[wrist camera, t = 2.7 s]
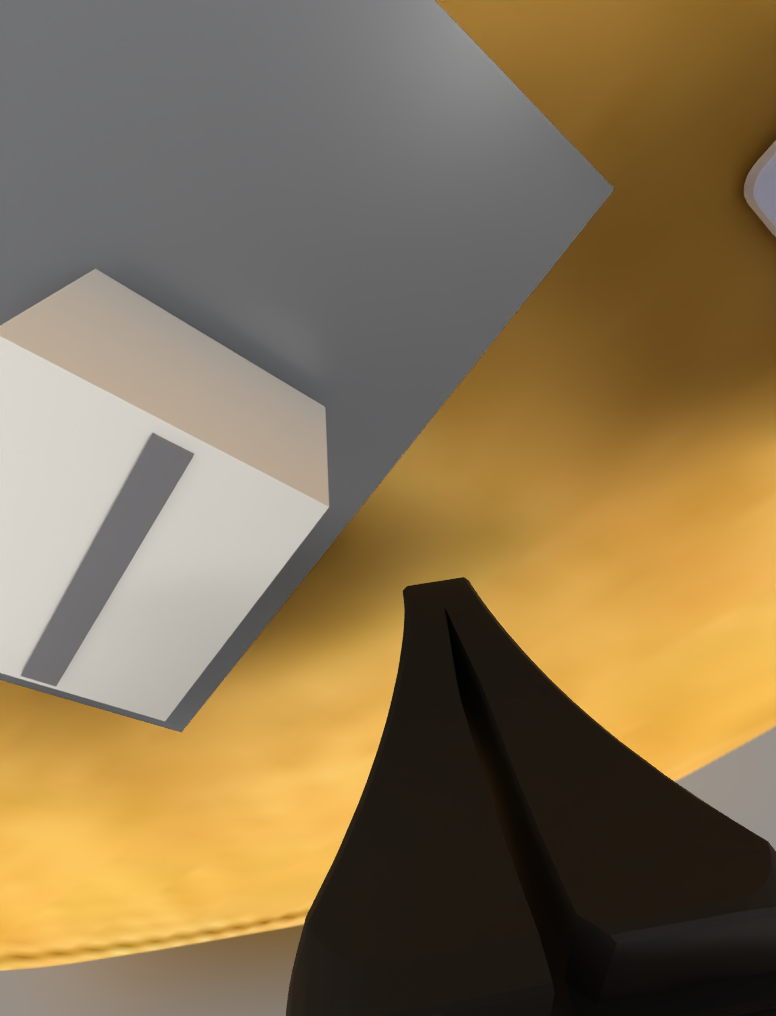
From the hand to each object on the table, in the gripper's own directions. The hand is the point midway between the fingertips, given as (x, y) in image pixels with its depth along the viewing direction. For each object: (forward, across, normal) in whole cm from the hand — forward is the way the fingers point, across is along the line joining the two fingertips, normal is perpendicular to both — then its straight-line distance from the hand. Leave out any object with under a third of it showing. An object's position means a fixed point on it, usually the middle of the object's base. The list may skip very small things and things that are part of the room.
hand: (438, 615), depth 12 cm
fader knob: (+1, +5, -4) cm, 7 cm away
